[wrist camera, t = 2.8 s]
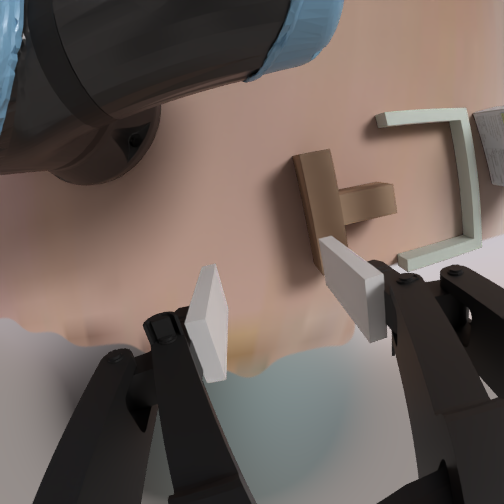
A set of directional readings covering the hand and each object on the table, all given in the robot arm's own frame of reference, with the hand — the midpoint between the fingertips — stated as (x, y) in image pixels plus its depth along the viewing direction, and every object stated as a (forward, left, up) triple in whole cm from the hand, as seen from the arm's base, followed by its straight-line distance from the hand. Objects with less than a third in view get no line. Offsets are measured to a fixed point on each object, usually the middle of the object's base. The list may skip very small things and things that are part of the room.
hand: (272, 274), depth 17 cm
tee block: (+10, 0, -17) cm, 20 cm away
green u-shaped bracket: (+22, 0, -17) cm, 27 cm away
